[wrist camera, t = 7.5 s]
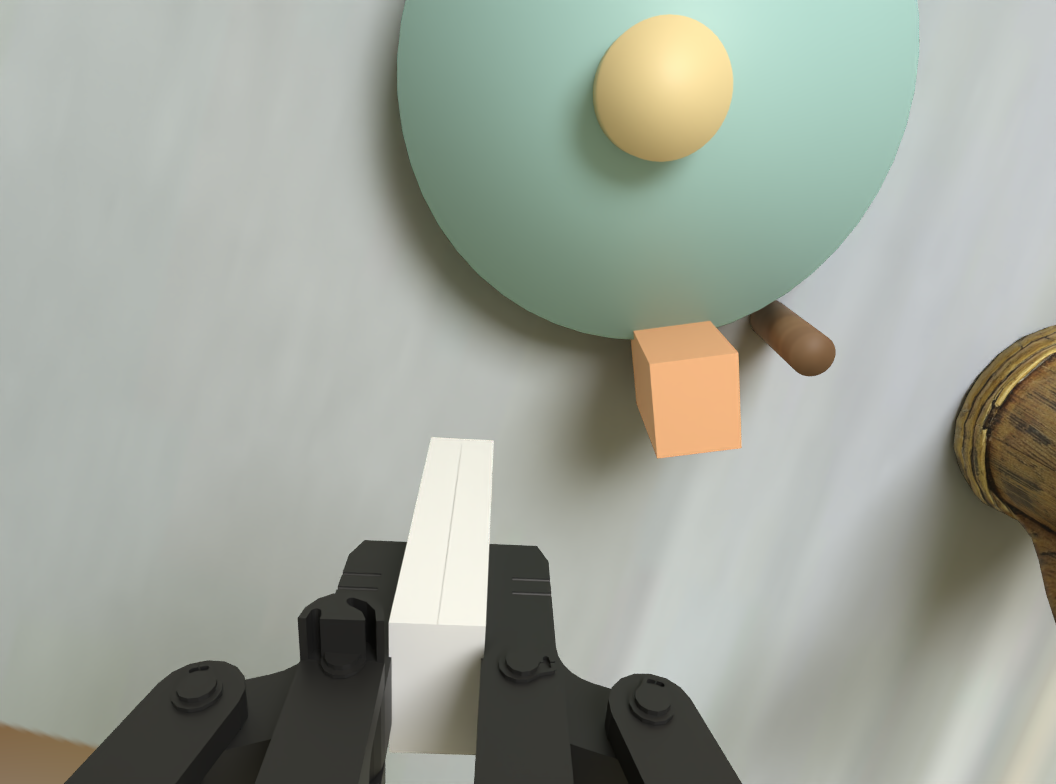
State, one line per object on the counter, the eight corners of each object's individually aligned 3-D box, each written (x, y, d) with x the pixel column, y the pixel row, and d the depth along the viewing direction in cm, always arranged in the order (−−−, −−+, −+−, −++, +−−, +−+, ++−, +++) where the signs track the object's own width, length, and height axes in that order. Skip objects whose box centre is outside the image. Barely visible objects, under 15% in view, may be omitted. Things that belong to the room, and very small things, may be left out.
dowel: (742, 325, 30) (781, 363, 26) (764, 293, 30) (808, 326, 25) (773, 342, 31) (817, 383, 26) (795, 310, 30) (844, 346, 25)
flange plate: (463, 425, 31) (450, 483, 26) (351, -164, 23) (304, -239, 18) (886, 371, 30) (956, 421, 25) (917, -260, 22) (1026, -366, 17)
